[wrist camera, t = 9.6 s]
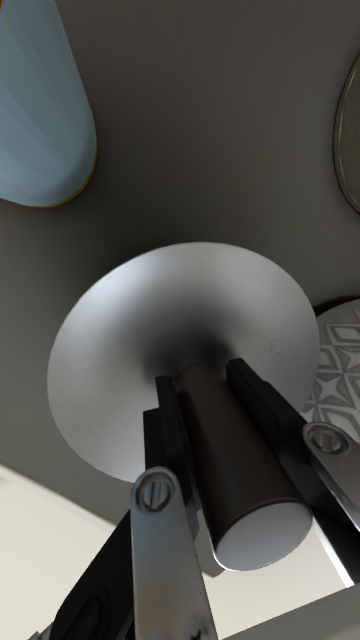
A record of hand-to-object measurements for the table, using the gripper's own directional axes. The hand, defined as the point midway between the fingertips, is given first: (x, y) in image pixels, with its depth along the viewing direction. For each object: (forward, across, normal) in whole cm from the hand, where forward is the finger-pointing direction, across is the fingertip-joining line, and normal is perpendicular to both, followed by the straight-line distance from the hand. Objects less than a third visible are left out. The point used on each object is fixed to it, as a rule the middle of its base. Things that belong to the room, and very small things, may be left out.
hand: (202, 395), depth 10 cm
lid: (+1, 0, 0) cm, 1 cm away
